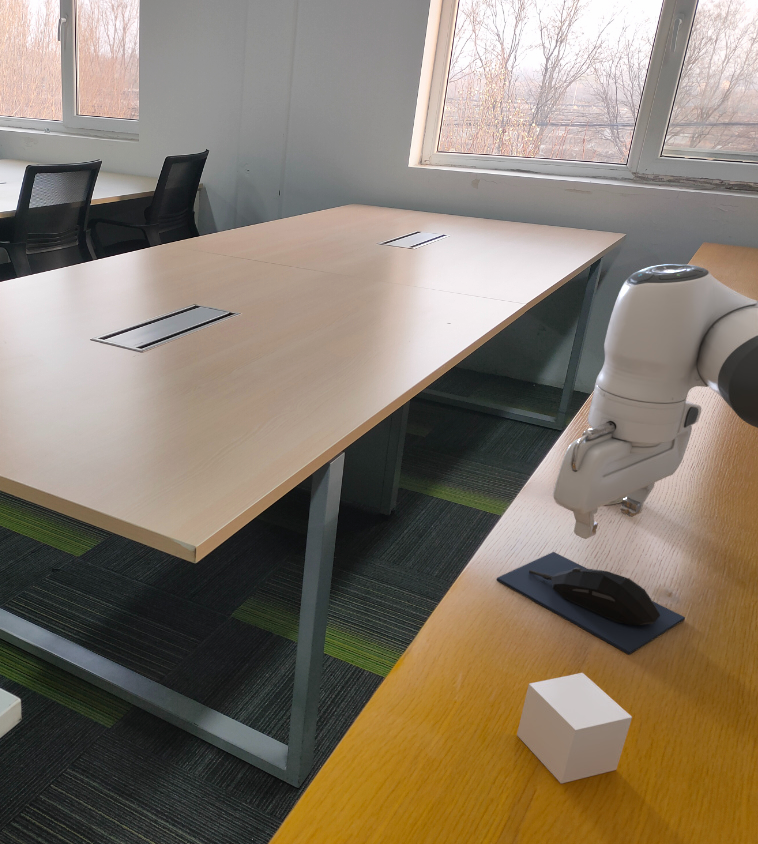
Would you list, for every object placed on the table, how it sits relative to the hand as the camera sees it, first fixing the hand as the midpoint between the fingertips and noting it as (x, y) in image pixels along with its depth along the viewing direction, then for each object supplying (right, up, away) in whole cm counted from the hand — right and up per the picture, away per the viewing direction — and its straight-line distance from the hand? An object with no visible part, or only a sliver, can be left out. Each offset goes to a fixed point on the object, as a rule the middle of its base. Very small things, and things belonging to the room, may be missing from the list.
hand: (607, 524), depth 93 cm
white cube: (-14, -19, -20) cm, 30 cm away
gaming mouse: (-1, -9, +3) cm, 10 cm away
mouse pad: (-1, -9, +3) cm, 10 cm away
